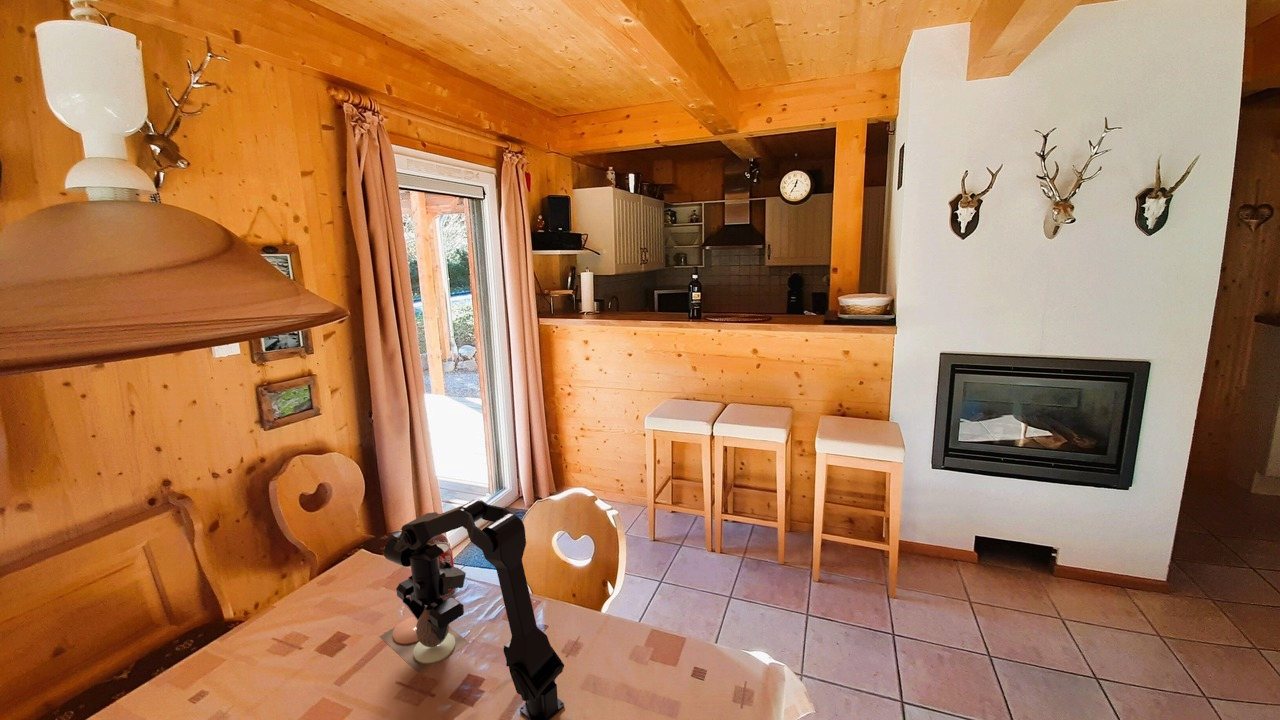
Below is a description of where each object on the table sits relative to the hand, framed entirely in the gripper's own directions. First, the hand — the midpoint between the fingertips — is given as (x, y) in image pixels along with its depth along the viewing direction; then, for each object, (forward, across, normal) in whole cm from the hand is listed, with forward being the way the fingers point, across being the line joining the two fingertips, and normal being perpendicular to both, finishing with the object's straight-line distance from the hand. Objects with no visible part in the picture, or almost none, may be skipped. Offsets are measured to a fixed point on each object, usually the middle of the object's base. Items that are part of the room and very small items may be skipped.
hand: (433, 632), depth 118 cm
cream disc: (+4, 0, 0) cm, 4 cm away
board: (+5, +5, 0) cm, 7 cm away
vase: (+2, 0, 0) cm, 2 cm away
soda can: (+5, +19, -13) cm, 24 cm away
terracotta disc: (+4, +10, 0) cm, 11 cm away
